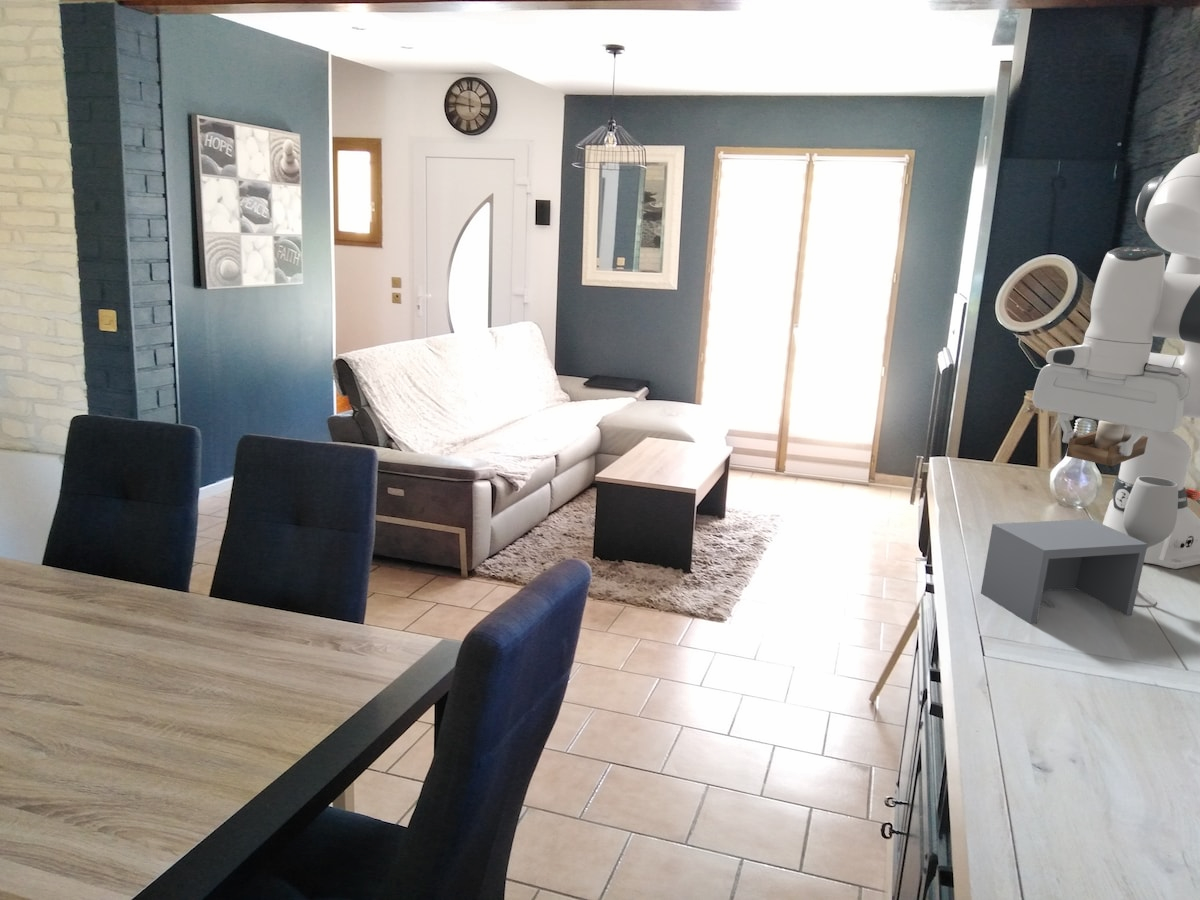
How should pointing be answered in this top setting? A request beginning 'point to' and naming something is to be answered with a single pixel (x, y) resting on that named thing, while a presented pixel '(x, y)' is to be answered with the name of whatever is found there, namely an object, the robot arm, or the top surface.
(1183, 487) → the robot arm
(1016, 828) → the top surface
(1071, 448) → the tray
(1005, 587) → the grey cover
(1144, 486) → the wineglass
